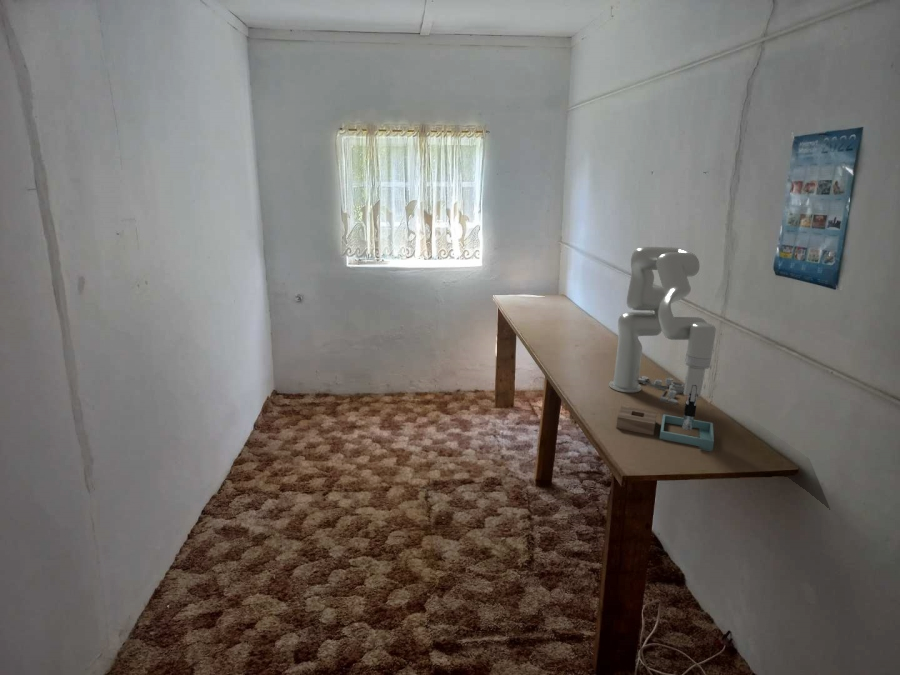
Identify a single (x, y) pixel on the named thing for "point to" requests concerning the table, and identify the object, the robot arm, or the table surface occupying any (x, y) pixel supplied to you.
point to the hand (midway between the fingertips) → (689, 413)
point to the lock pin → (687, 421)
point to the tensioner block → (636, 419)
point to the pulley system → (673, 387)
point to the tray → (703, 441)
